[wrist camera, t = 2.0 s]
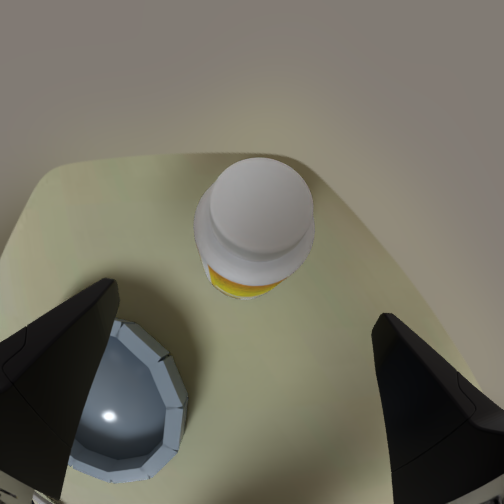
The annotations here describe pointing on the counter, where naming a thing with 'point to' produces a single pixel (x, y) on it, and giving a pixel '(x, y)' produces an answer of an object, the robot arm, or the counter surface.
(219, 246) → the supplement bottle
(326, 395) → the counter surface
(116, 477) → the bowl
